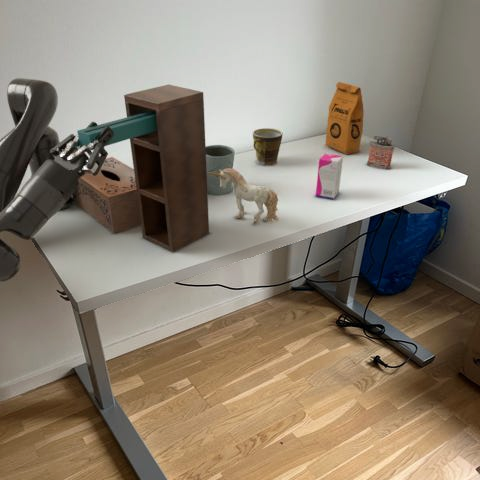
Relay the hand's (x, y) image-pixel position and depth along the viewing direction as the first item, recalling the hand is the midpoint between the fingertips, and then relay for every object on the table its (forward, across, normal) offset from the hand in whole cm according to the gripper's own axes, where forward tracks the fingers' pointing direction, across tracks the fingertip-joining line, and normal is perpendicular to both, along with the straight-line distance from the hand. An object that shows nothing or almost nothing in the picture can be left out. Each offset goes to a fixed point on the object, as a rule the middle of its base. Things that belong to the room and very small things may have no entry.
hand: (103, 127), depth 99 cm
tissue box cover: (-1, -25, -35) cm, 43 cm away
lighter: (+68, +16, -75) cm, 102 cm away
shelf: (-1, 0, -35) cm, 35 cm away
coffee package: (+74, -3, -78) cm, 108 cm away
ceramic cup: (+48, -16, -63) cm, 81 cm away
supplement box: (+41, +15, -59) cm, 73 cm away
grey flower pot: (+25, -12, -50) cm, 57 cm away
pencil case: (+4, 0, -6) cm, 7 cm away
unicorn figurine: (+14, +8, -44) cm, 47 cm away
